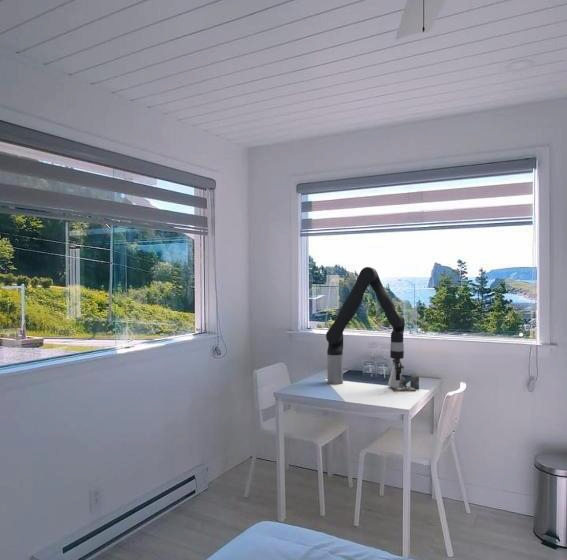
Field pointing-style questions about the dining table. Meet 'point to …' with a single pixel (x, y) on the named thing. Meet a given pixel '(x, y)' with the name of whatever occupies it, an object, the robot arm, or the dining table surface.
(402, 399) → the dining table surface
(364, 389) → the dining table surface
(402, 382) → the gauge plunger
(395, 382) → the force gauge
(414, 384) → the test stand
